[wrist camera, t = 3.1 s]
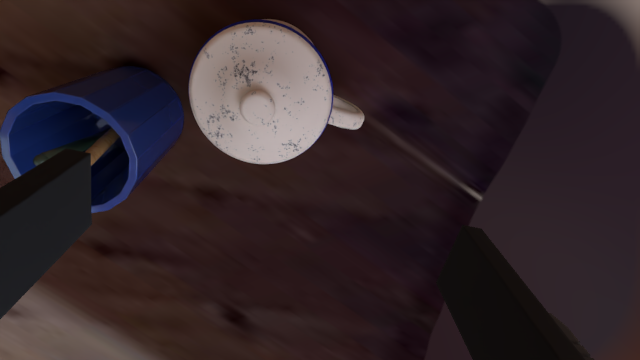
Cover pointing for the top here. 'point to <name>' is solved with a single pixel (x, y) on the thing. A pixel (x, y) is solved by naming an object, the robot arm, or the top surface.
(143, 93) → the pen pot
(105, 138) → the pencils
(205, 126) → the teacup with lid
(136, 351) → the top surface
